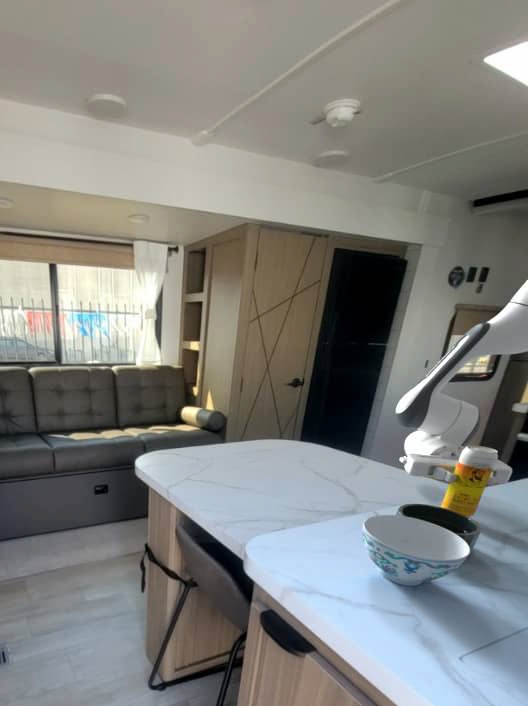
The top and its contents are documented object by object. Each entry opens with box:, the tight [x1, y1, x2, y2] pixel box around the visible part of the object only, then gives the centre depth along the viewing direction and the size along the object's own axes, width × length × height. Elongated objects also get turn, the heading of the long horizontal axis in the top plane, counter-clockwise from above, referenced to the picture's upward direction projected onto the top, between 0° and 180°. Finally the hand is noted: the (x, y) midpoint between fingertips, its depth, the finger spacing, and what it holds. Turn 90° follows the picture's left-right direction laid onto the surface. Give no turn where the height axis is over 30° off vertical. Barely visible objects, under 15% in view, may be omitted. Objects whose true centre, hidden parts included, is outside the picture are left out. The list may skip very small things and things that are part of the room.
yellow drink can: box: [440, 445, 499, 518], centre depth 88 cm, size 6×6×15 cm
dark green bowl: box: [395, 503, 483, 560], centre depth 79 cm, size 13×13×6 cm
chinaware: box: [362, 514, 470, 587], centre depth 68 cm, size 15×15×8 cm
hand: (472, 480), depth 87 cm, fingers closed on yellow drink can, 6 cm apart
